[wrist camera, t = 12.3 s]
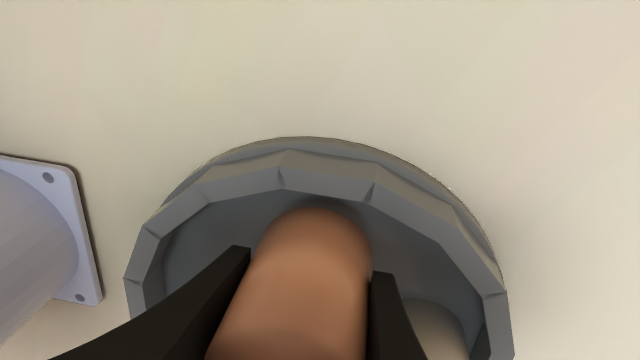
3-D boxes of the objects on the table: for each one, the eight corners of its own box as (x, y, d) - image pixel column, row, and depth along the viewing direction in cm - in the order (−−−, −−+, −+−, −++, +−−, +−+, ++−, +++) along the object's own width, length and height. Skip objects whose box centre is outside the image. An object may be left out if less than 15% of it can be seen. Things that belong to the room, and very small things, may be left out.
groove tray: (168, 372, 23) (145, 414, 21) (133, 108, 15) (90, 130, 13) (447, 433, 21) (454, 486, 19) (562, 173, 14) (594, 210, 12)
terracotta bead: (267, 292, 15) (218, 421, 11) (255, 204, 13) (188, 318, 9) (371, 300, 15) (362, 442, 10) (373, 209, 13) (363, 335, 8)
